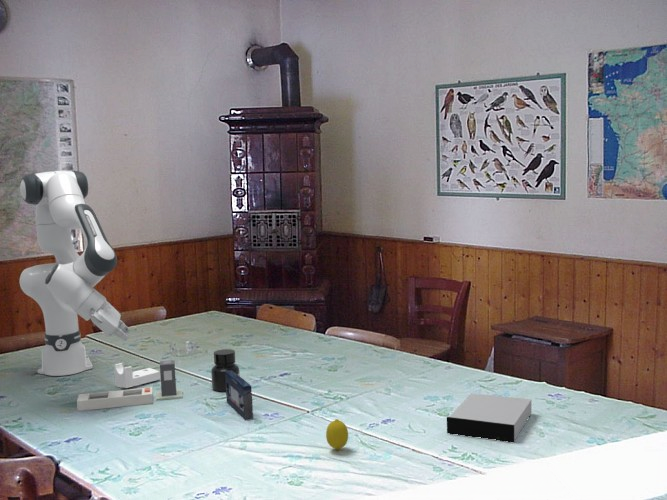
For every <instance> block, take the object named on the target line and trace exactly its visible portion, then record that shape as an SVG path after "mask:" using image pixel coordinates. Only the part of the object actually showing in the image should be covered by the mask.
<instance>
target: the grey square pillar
mask: <svg viewBox="0 0 667 500" xmlns="http://www.w3.org/2000/svg"><path fill="white" fill-rule="evenodd" d="M175 367H176V365H175V360H174V359H173V360H162V361H161V360H160V361H159V371H160V376H161V379H160V389H161V390H160V391H161V392H162V396H172V395H176V389H177V383H176V382H177V381H176V379H177V378H176V368H175Z"/></svg>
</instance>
